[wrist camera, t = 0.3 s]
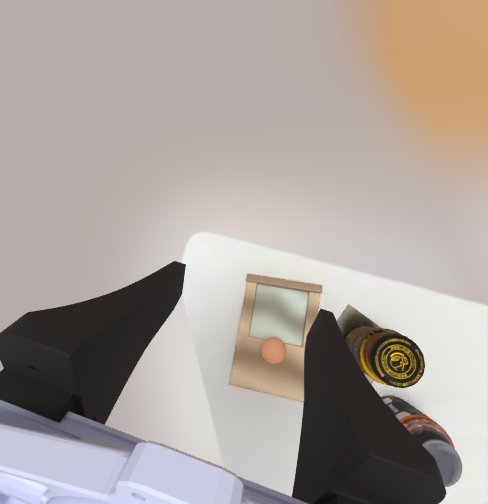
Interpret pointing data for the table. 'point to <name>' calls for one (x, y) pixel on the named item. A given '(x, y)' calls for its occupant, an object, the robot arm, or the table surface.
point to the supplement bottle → (429, 438)
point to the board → (274, 335)
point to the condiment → (381, 351)
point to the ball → (273, 350)
